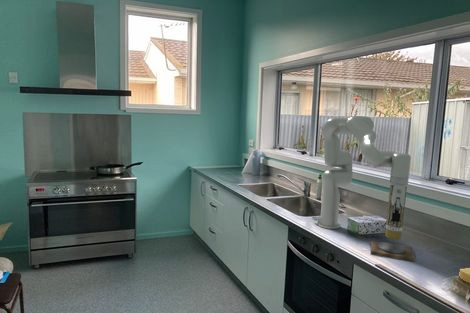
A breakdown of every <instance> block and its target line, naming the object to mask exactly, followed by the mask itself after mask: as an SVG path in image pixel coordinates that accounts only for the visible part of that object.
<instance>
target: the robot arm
mask: <svg viewBox="0 0 470 313" xmlns="http://www.w3.org/2000/svg"><path fill="white" fill-rule="evenodd" d="M374 124H375V123H374V121H373V119H372V118H371V117H369V116H365V115H364V116H363V115H354V116H350V117H347V118H345V117H332V118H329V119H327V120H326V121H325V123H324V124H323V127H322V136H323V141H324V142H323V144H324V146H323V147H324V150H323V151H324V153H323V154H324V159H323V160H324V165H326V166H327V167H329V168H338V169H328V170H327V169H326V170H325V171H324V172H323V173H322V175H321V185H322V187H321V188H322V193H321V197H322V198H321V208H320V214H319V216H314V215H312V219H311V220H313V221H316V225H317V226H318V227H320V228H323V229H329V230H336V229H337V230H338V229H340V228H341V223H338V222H339V214H340V213H339V211H340V202H341V200H340V199H341V194H340V191H339V187H348V186H350V185H351V183H352V181H353V157H352V154H351V153H350V151H348V150H346V149H341V140H340V138H339V136H338V135H340V134H341V135H353V137H355V139H356V140H357V141H358V142H359V143H360V150H361V153H362V154H361V155H362V156H363V158H365V159H366V161H367V162H368V163H369V164H370V165H371V166H373V167H375V168H390V176H389V184H393V192H392V206H394V208H393V212H392V221H393V222H400V207H402V208H403V207H404V200H405V201H406V199H405V186H406V185H407V186H409V177H410V167H411V158H412V157H411V155H410V154H408V153H405V152H396V151H391V150H378V149H377V147H375V145H374V144H373V143H374V142H375V140H376V139H377V133H376V132H375V131H374V126H375V125H374ZM395 204H396V206H395ZM395 207H396V208H395Z"/></svg>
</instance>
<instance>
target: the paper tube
mask: <svg viewBox="0 0 470 313" xmlns="http://www.w3.org/2000/svg"><path fill="white" fill-rule="evenodd" d="M389 184H390V185H389V195H388V204H387V214H386V222H385V223H386V225H385V232H384V233H385V237H386V238H388V239H390V240H396V241H397V240H401V239H402V236H403V235H402V234H403V226H404V218H405V217H404V216H405V208H406V198H407V191H408V190H407V189H408V185H406V186H405V200H404V207H403V208H402V207H400V222H393V221H392V212H393V208H394V206H392V192H393V184H391V183H389ZM395 206H396V204H395ZM395 208H396V207H395Z"/></svg>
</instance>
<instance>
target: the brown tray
mask: <svg viewBox="0 0 470 313" xmlns="http://www.w3.org/2000/svg"><path fill="white" fill-rule="evenodd" d="M370 255H372V256H376V257H377V256H379V257H383V256H384V258H390V259H396V260H402V261H406V262H407V261H408V262H413V263H415V262H416V256H415V253H414V250H413V248H412V247H411V246H405V245H401V244H397V243H394V242H380V241H373V240H370Z"/></svg>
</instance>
